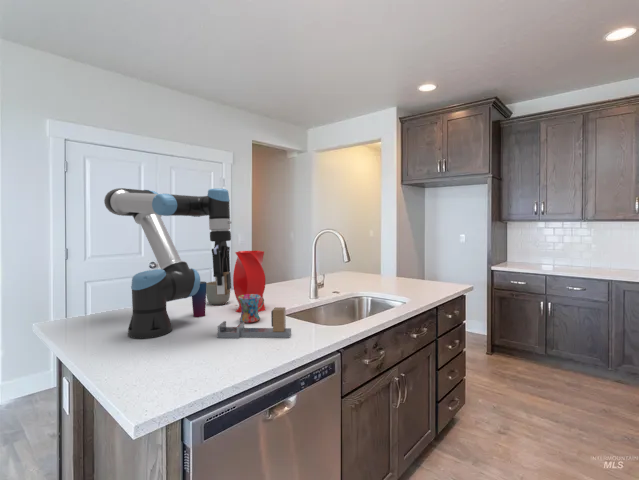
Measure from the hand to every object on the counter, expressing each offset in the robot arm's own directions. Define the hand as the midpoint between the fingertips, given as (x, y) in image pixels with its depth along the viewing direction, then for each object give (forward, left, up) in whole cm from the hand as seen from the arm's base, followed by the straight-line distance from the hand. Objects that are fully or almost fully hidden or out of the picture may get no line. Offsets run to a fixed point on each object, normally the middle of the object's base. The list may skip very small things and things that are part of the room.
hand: (223, 292), depth 132 cm
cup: (-20, +25, -16) cm, 36 cm away
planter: (-19, +49, -16) cm, 55 cm away
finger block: (0, 0, 0) cm, 0 cm away
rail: (+12, -2, -15) cm, 20 cm away
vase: (0, +37, -16) cm, 41 cm away
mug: (+6, +18, -16) cm, 25 cm away
